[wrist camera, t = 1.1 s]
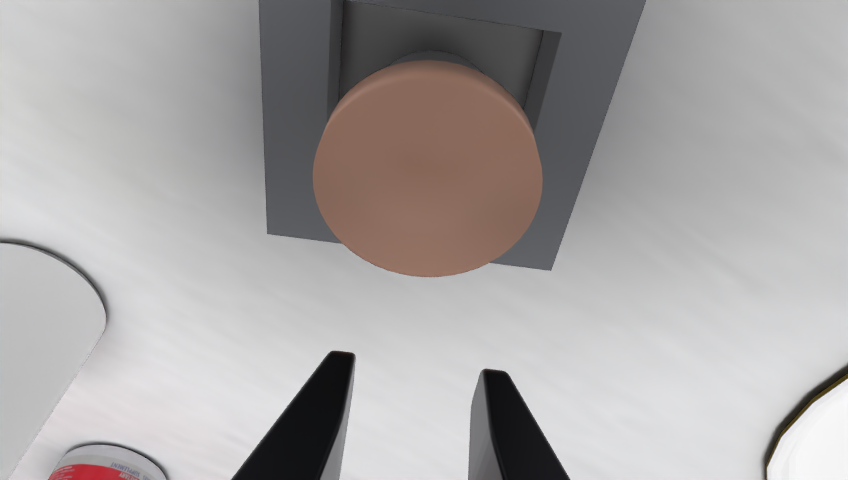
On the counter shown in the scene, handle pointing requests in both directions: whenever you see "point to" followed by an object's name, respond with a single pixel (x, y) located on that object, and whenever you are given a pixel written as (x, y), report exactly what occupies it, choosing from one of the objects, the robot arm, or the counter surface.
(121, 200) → the counter surface
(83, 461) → the pill bottle
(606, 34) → the panel
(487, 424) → the robot arm
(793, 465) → the plate
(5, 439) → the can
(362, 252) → the terracotta button
